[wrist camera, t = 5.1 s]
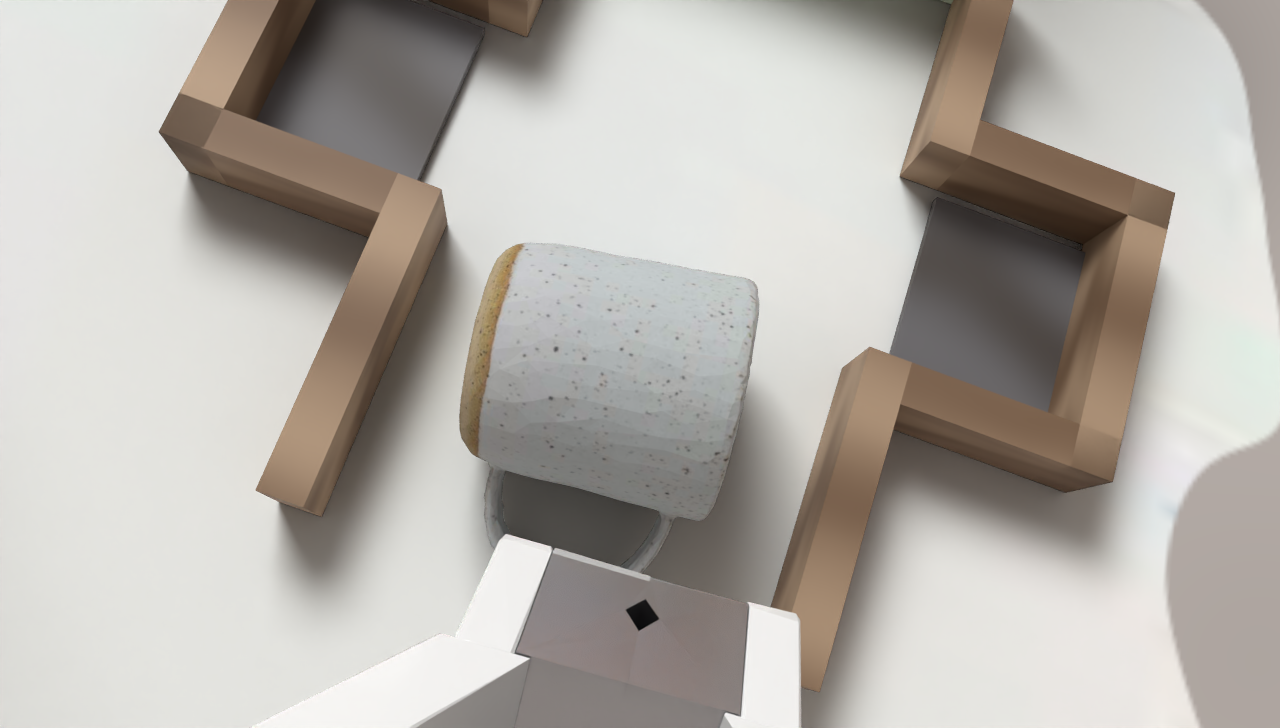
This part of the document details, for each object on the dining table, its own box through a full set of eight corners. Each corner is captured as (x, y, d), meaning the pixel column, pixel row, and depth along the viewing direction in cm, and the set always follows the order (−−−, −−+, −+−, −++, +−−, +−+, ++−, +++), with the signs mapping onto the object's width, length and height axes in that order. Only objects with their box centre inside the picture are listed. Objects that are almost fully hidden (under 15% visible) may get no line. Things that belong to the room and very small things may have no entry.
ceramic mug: (505, 272, 36) (500, 189, 29) (730, 320, 37) (782, 249, 29) (437, 573, 34) (412, 565, 26) (679, 619, 34) (722, 625, 27)
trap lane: (1004, 761, 34) (1049, 774, 31) (58, 422, 33) (14, 404, 30) (1166, 51, 42) (1214, 9, 39) (398, -240, 41) (389, -306, 38)
